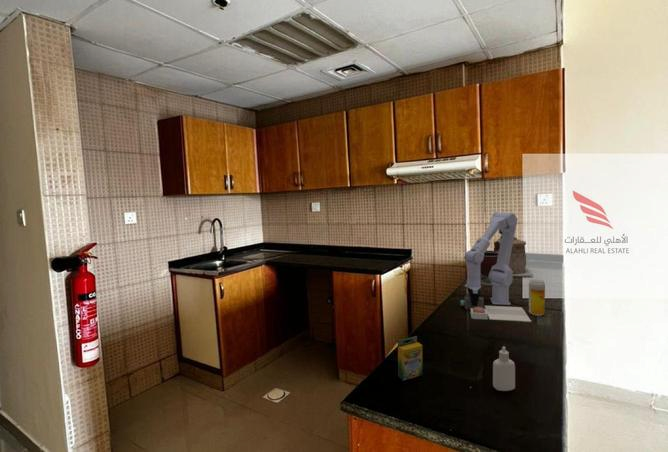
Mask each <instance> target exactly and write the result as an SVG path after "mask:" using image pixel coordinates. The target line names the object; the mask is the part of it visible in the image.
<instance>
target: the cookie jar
mask: <svg viewBox="0 0 668 452" xmlns="http://www.w3.org/2000/svg"><path fill="white" fill-rule="evenodd" d="M498 232H499V235H501V236H500V237H499V238H498V239H496V240H494V242H493V251H494V252H493V253H499V248H500V243H501V238H502V231H501V230H500V229H498ZM526 244H527V242H526V241H525V240H520V239H518V238H517V237H516V236H514V240H513V246H512V251H511V256H510V261H509V267H510V269H511V270H512V271H513V273H512V276H513V277H519V278H520V277H522V278H533V276H534V273H532V272H531V271H530V269H528V267H527V254H526ZM501 271H502V270H501ZM502 272H504V271H502Z"/></svg>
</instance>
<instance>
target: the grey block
mask: <svg viewBox="0 0 668 452" xmlns="http://www.w3.org/2000/svg"><path fill="white" fill-rule="evenodd" d="M459 300H460V302H459V303H460V306H464V309H465V310H470V308H474V307H482V308H483V309H485V305H484V304H485V303H484V302H485V300H484V297H482V296H479V299H478V304H477V306H472V303H471V298H470V296H464V299H459Z"/></svg>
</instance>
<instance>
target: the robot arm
mask: <svg viewBox="0 0 668 452" xmlns="http://www.w3.org/2000/svg"><path fill="white" fill-rule="evenodd" d="M489 220H490V223H489V225H488V227H487V228H486V230H485V232H484V234H483V236H481V237H478V238H477V239H476V241H475V243H474V244H473V246H472V247H471V249H470V250H467V251H466V252H465V255H464V256H463V258H464V260H465V262H466V263H465V265H466V267H467V269H466V270H467V271H466V272H467V274H466V275H467V276H466V277H467V280H466V281H467V284H464V287H466V289H467V292H468V294H469V297H470V298H471V303H472V306H477V304H478V299H479V297H481V294H482V291H481V288H482V284H481V275H482V274H480V263H481V262H482V261H483V259H484V253H485V252H487V250H488V248H489V247H490V245H491V243H490V241H491V239H493V237H494V236H495V235H496V233H497V232H499V229H500V230H501V231H502V238H501V243H500V248H499V253H498V258H497V264H495V265H494V266H492V268H491V271H490V273H489V280H490V281H491V284H492V285H491V286H492V290H491V293H492V295H491V296H492V297H490V298H489V299H490V301H491V303H492V304H493V305H500V306H504V305H506V306H510V305H512V304H511V302H510V301H509V298H510V297H509V294H510V291H509V290H510V288H509V287H510V286H511V284H512V283H513V280H514V278H513V277H514V276H512V273H513V271H512V270H511V269H510V267H509V261H510V256H511V251H512V246H513V240H514V237H515V234H516V228H517V224H518V217H517V216H516V214H515V213H513V212H498V211H497V212H494V213H493V214H492V216H491V217H490V219H489ZM499 270H502V271H504V272H502V271H499Z"/></svg>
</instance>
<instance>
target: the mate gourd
mask: <svg viewBox="0 0 668 452" xmlns="http://www.w3.org/2000/svg"><path fill="white" fill-rule="evenodd" d="M497 258H498V253H495V252H492V251H491V252H487V251H485V253H484V259H483V261H482V262H481V263H480V275H482V276H485V278H482V279H481V285H485V286H492V284H491V281H490V280H489V273H490V271H491V268H492V266H494V265H495V264H497ZM499 271H501V270H499Z"/></svg>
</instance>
